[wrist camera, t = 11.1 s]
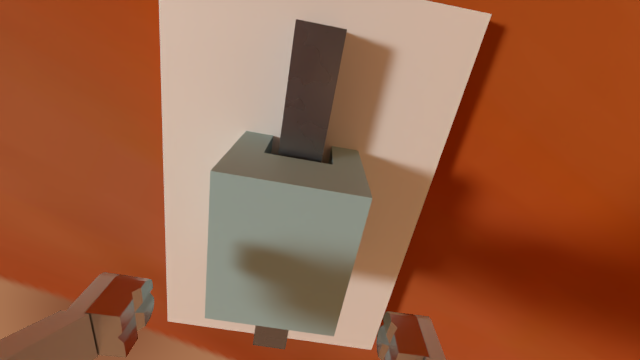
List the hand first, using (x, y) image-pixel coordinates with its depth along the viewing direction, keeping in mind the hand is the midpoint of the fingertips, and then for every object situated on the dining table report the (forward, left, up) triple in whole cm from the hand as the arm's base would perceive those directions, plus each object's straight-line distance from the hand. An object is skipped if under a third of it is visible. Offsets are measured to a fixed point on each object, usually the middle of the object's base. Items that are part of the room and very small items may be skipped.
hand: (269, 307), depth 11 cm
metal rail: (+1, 0, -9) cm, 9 cm away
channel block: (+1, 0, -9) cm, 9 cm away
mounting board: (+1, 0, -11) cm, 11 cm away
